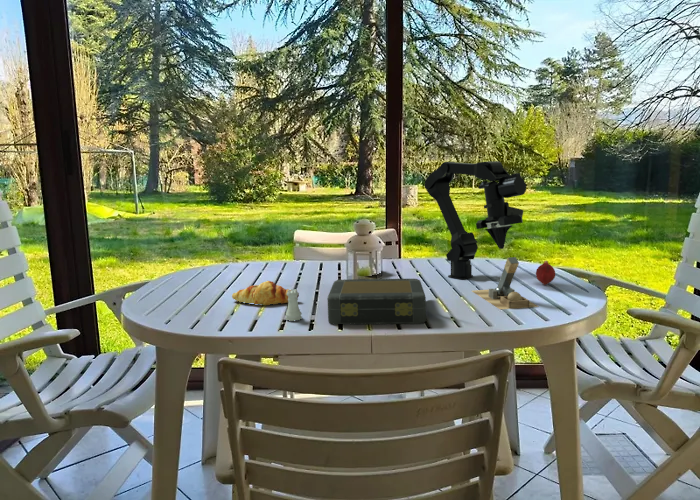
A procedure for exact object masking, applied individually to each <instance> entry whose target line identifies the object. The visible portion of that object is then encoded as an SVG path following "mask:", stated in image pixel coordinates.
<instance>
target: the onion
mask: <svg viewBox="0 0 700 500" xmlns="http://www.w3.org/2000/svg"><path fill="white" fill-rule="evenodd" d="M548 262H549V261H548V260H544V261H543V263H542V264H540V265H539V266H538V267H537V269H536V271H535V276H536V279H537V280H538V282H540V283H541V284H542V285H544V286H546V285H549V284H550V283H551V282H553V280H554V279H555V277H556V270H555V268H554V267H553V266H552V265H551V264H549V263H548Z"/></svg>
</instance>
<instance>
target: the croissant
mask: <svg viewBox="0 0 700 500" xmlns="http://www.w3.org/2000/svg"><path fill="white" fill-rule="evenodd" d="M288 290H290V291H291V289H288V288H287V289H286V288H284V287H283V286H281V285H278V284H276V283H275V282H274V281H271V280H267V281H264V282H261V283H260V284H255V285H249V286H248V287H246V288H243V289H239V290H237V291H236V292H233V293H232V294H231V297H232V299H233V300H234V299H235V301H236V300H237V301H236V302H238V301H239V302H238V303H241V302H245V303H254V304H263V305H265V306H270V304H273V305H279V304H278V303H281V304H288V296H287V292H288ZM299 294H300V293H299ZM299 294H298V296H297V298H298V299H299V297H300V295H299ZM245 303H244V304H245Z"/></svg>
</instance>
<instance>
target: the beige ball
mask: <svg viewBox="0 0 700 500" xmlns="http://www.w3.org/2000/svg"><path fill="white" fill-rule="evenodd" d="M521 296H522V295H521V294H520V292H517V291H515V292H511V293H510V294H509V295H508V300H509V301H520V300H522V297H523V296H522V297H521Z"/></svg>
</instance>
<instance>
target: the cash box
mask: <svg viewBox="0 0 700 500" xmlns="http://www.w3.org/2000/svg"><path fill="white" fill-rule="evenodd" d="M426 299H427V298H426V294H425V291H424V288H423V285H422V282H421V280H420V279H418V278H366V279H365V278H363V279H360V278H359V279H357V278H356V279H350V278H349V279H336V280H335V281H333V283H332V286H331V287H330V290H329V293H328V296H327V319H328V320H327V321H328V323H329V324H330V325H334V324H350V325H421V324H425V323H426V320H427V319H426V315H427V312H426V311H427V307H426V306H427V304H426V303H427V301H426Z"/></svg>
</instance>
